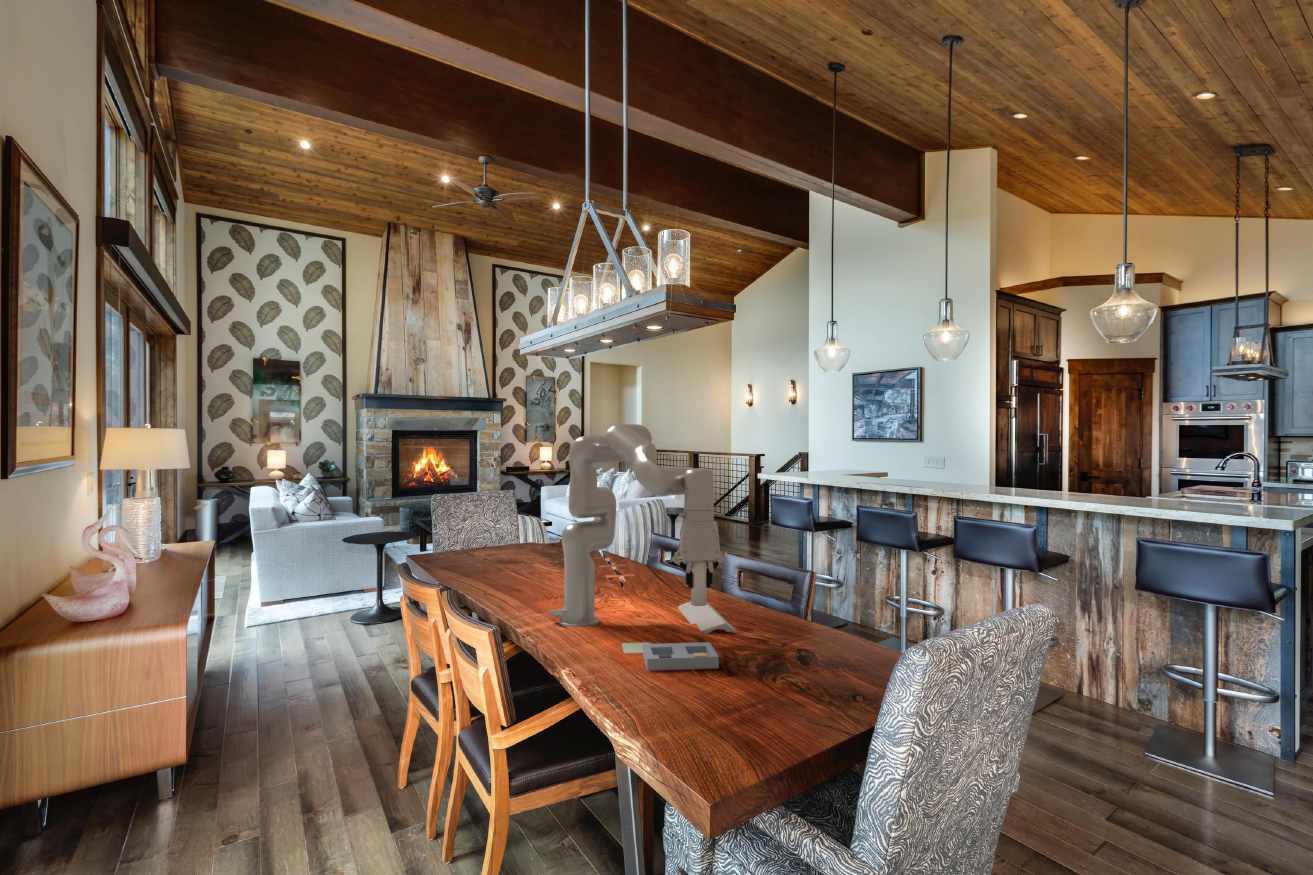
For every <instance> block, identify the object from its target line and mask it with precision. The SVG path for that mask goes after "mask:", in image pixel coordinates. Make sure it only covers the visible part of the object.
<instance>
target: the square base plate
mask: <svg viewBox="0 0 1313 875" xmlns="http://www.w3.org/2000/svg"><path fill="white" fill-rule="evenodd" d="M643 644H652V643H651V642H622V643H621V645H622V651H623V654H643Z"/></svg>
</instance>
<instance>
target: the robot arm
mask: <svg viewBox="0 0 1313 875" xmlns="http://www.w3.org/2000/svg"><path fill="white" fill-rule="evenodd" d="M652 438H653V436H652V433H651V431H650V430H649V429H648V428H647V427H646V426H645V425H642V424H637V423H636V424H634V423H633V424H632V423H617V424H613V425H612V426H610V427H609V428H608V429H607V430H606V432H605V434H604V435H598V434H597V435H596V434H595V435H594V434H592V435H583V436H580V437H578V438H576V439H574V440H573V441H572V443H571V445H570V447H569V450H568V451H569V452H568V462H569V463H568V464H569V470H570V478H569V489H568V490H569V492H568V511H569V514H570V516H571V517H573V518H576V519H588V518H593V520H586V521H576V522H573V523H570V524H568V525H566V526H565V527H564V528H563V530H562V532H561V544H562V551H563V557H564V561H563V562H564V565H563V566H564V571H563V572H564V579H563V580H564V585H563V586H564V591H563V593H564V595H563V606H562V608H559V609H549V617H553V618H559V619H558V624H559V625H560V626H562V627H565V628H580V627H582V628H584V627H587V628H588V627H594V626H596V625H598V624H599V623H600V618H599V616H598V615H595V605H596V604H595V603H596V602H595V600H596V599H595V598H596V597H595V596H596V595H595V594H596V593H595V592H596V587H595V586H596V580H595V578H596V568H595V567H596V566H595V562H594V560H593V558H592V556H591V555H590V553H591V552H594V551H595V552H596V551H600V550H605V549H608V548H609V547H611V545H612V544H613V542H614V539H615V534H616V523H617V522H616V521H617V520H616V519H617V499H616V495H615V494H614V491H613V490H612V489H610V488H609V487H606V486H598V478H599V477H598V471H597V469H596V467H595V466H594V464H607V463H613V464H614V463H622V462H624V461H625V462H627V463H628V464H629V465H631V466H632V470H633V474H634V476H635V480H636V481H637V482H638V483H639V484H640V486H642V487H643V488H645V489H646V490H648V491H649V492H650V493H652V494H654V495H656V496H659V497H669V496H682V495H684V509H683V511H679V512H678V517H679V518H682V519H684V520H682V521H681V526H680V532H679V543H678V549H677V550H676V552H675V553H674V555H673V556H672V558H671V560H672V562H673V563H675V564H676V565H678V566H679V567H680V568H681V569H683V571H685V585H686V586H687V587H688V588H689V589H690V590H691V589H692V588H693V574H692V573H691V566H692V562H704V561H707V589H711V585H712V584H713V573H714V572H715V569H717V568H718V567H719V566H720V565H722V564H723V563H724V562H726V560H727V558H726V557H725V555H724V554H723V552H722V551H721V547H720V536H719V535H720V534H719V525H718V522H717V521H715V520H714V518H715V516H714V515H715V514H714V511H715V510H714V509H715V508H714V507H715V506H714V504H715V502H714V497H715V495H714V494H715V493H714V488H715V486H714V484H715V482H714V480H715V479H714V478H715V477H714V475H715V474H714V471H713V470H711V469H710V468H701V467H699V468H693V467H690V466H664V467H662V466H660V465H658V464H657V463H655V461H656V458H657V451H658V450H657V447H656V445H655V444H653V442H652Z"/></svg>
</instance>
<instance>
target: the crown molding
mask: <svg viewBox="0 0 1313 875" xmlns="http://www.w3.org/2000/svg"><path fill="white" fill-rule="evenodd" d="M677 608H678V610H679V611H680V613H681V614H682V615H683V616H684V617H685V619H687V621H688V622H689V624H690V625H696V626H697V627H698V629H699V631H700V632H701V634H702V635H708V634H710V633H711V632H713V631H715V630H721V631H723V630H724V631H725V632H726V633H731V632H732V634H734V633H738V631H737V629H735V628H734V627H733V626H732V625H731V624H730V623H729V622H728V621H727V620H726V619H725V618H724V617H723V616H722V615H721V614H720V613H719V612H718V611H717V610H716V609H715V608H714V607H713V606H712V605H710V604H709V602H707V605H705V606H693V605H691V601H688V602H685V603H681V604H680V605H678V606H677Z"/></svg>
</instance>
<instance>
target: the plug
mask: <svg viewBox="0 0 1313 875" xmlns="http://www.w3.org/2000/svg"><path fill="white" fill-rule="evenodd" d="M691 573H692V574H693V588H692V589H690V592H691V594H690V597H691V598H690V602H691V605H693V606H705V605H707V603H708V602H707V598H708V597H707V596H708V595H707V594H708V593H707V592H708V590H707V589H708V588H707V561H704V562H692V566H691Z"/></svg>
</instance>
